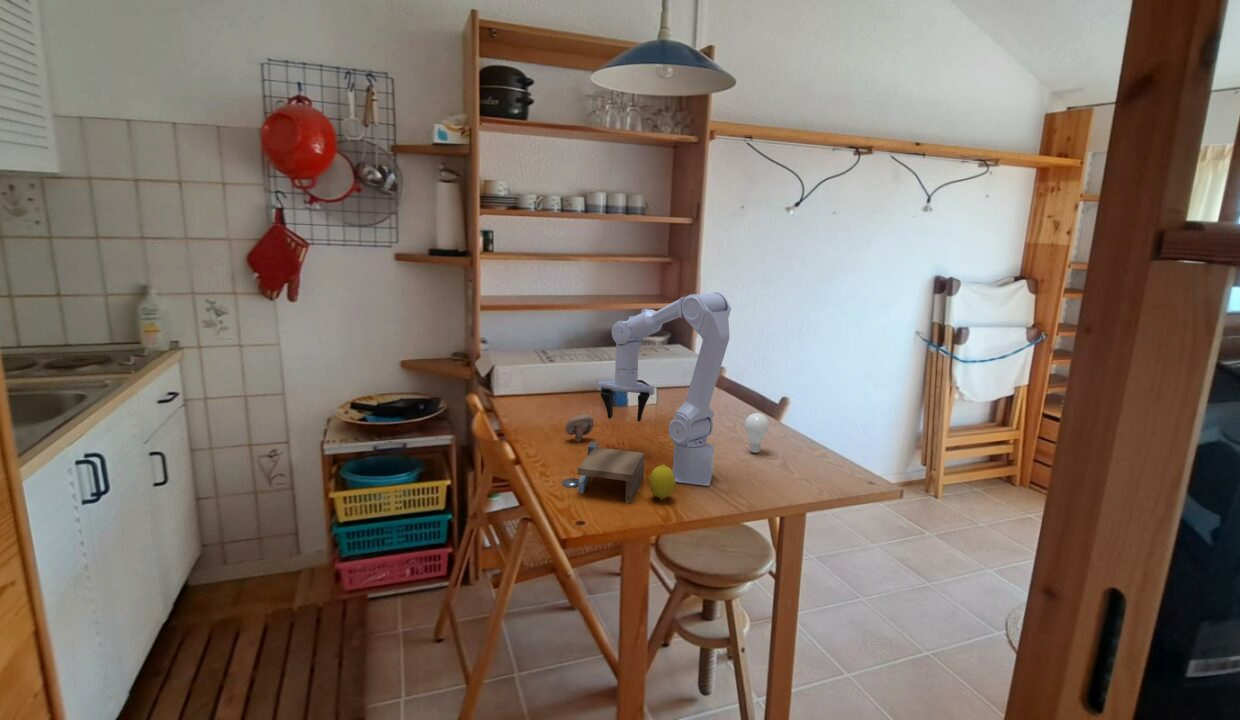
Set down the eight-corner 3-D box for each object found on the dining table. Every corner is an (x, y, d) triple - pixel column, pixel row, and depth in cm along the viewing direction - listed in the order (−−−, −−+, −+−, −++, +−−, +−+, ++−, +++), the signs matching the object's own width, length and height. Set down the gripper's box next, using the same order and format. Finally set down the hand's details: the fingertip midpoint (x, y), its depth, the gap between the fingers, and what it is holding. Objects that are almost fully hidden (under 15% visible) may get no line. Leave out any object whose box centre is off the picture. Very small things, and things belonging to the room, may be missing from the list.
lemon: (644, 495, 141) (646, 461, 140) (667, 493, 143) (669, 459, 142) (655, 506, 136) (656, 470, 135) (678, 503, 138) (680, 468, 136)
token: (583, 482, 148) (583, 479, 148) (578, 489, 144) (579, 486, 144) (565, 480, 149) (565, 477, 149) (560, 488, 145) (560, 484, 145)
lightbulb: (769, 457, 168) (773, 417, 166) (746, 457, 168) (749, 416, 165) (762, 448, 174) (766, 410, 172) (739, 448, 174) (742, 409, 172)
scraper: (597, 461, 161) (598, 442, 160) (585, 493, 142) (585, 471, 141) (589, 460, 161) (590, 441, 160) (576, 492, 142) (576, 471, 141)
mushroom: (563, 444, 173) (564, 415, 171) (567, 436, 179) (567, 409, 177) (591, 445, 172) (592, 417, 170) (594, 438, 178) (595, 410, 176)
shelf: (643, 479, 151) (644, 452, 149) (630, 503, 137) (632, 474, 136) (594, 473, 153) (594, 447, 152) (577, 496, 140) (577, 468, 138)
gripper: (657, 366, 165) (655, 417, 167) (602, 362, 168) (601, 412, 170) (652, 372, 158) (650, 425, 161) (595, 367, 161) (594, 419, 164)
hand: (624, 419), depth 165 cm, fingers open, 7 cm apart
